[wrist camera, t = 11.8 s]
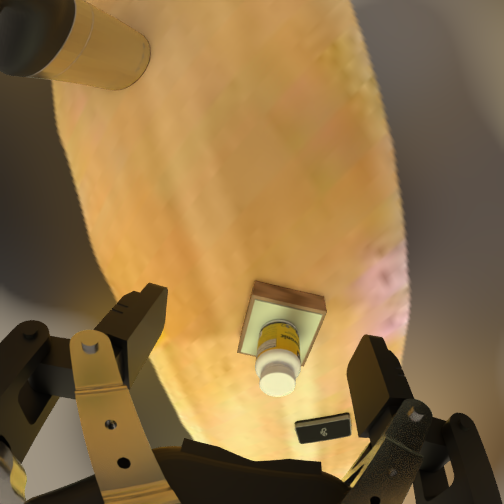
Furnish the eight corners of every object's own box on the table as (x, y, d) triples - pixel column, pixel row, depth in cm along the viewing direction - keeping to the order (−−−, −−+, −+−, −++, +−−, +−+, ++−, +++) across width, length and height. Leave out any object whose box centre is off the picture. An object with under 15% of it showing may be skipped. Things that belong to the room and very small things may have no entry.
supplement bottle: (306, 339, 40) (310, 390, 31) (273, 355, 41) (269, 406, 32) (285, 311, 38) (285, 361, 29) (251, 329, 40) (242, 379, 31)
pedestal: (240, 336, 46) (236, 353, 42) (254, 280, 42) (252, 295, 38) (302, 349, 46) (303, 367, 42) (323, 296, 42) (327, 312, 38)
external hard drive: (294, 419, 53) (294, 427, 51) (349, 410, 51) (350, 417, 49) (299, 437, 55) (299, 444, 53) (351, 428, 53) (352, 435, 51)
